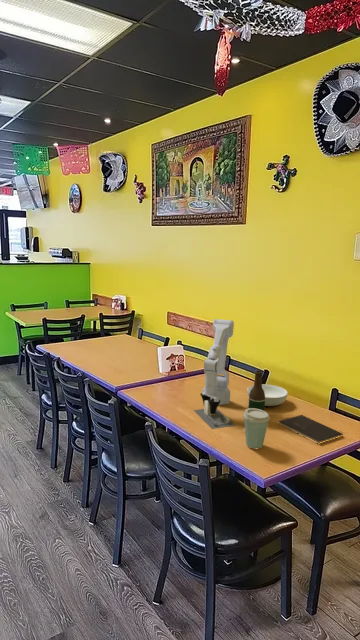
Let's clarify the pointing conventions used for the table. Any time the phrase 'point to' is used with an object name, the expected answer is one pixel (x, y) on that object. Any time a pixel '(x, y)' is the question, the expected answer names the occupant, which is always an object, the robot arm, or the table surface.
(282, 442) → the table surface
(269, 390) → the serving bowl
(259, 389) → the beer bottle
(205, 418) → the mat
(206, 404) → the cream square bottle
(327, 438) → the hardcover book
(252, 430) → the disposable coffee cup
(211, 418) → the end holder
